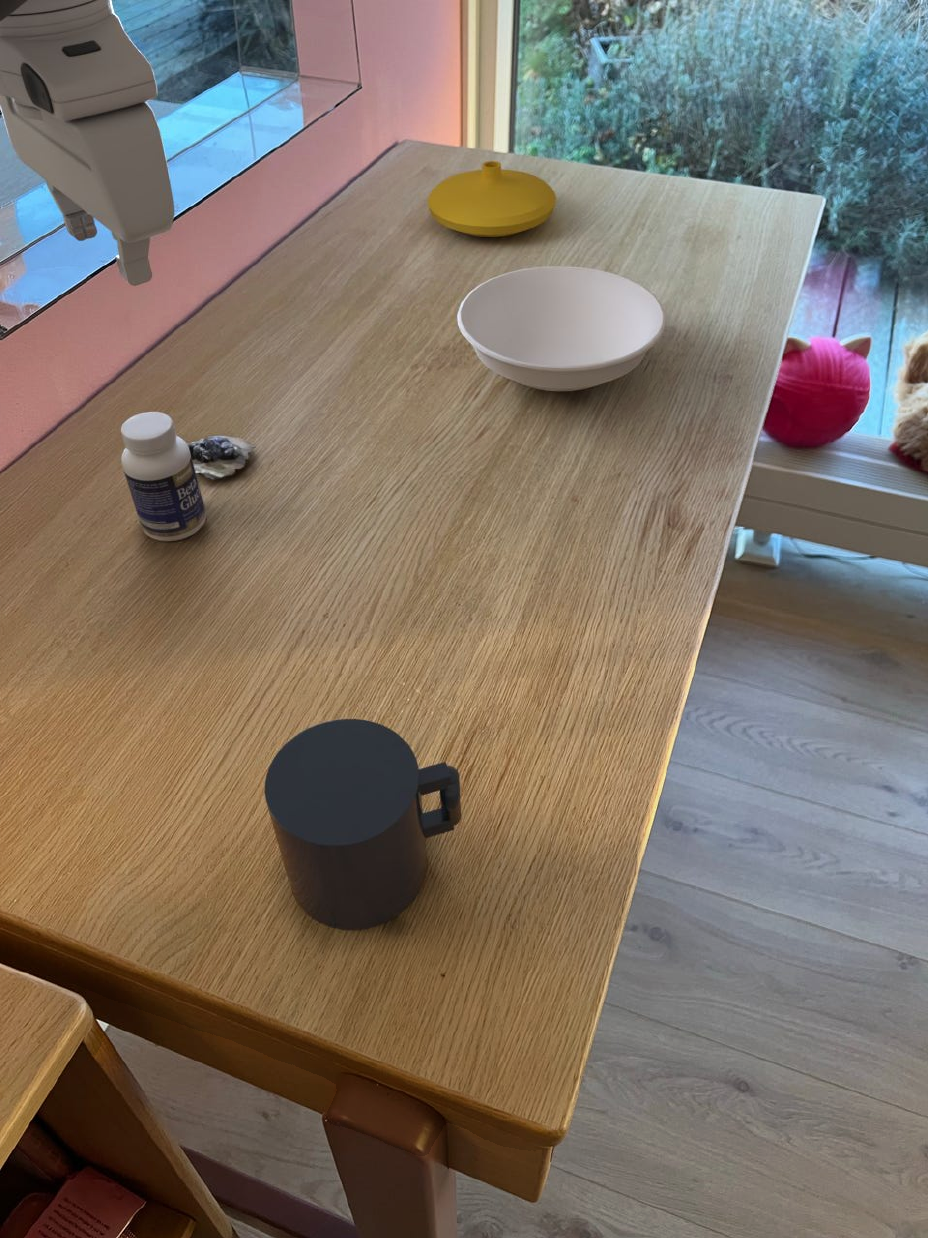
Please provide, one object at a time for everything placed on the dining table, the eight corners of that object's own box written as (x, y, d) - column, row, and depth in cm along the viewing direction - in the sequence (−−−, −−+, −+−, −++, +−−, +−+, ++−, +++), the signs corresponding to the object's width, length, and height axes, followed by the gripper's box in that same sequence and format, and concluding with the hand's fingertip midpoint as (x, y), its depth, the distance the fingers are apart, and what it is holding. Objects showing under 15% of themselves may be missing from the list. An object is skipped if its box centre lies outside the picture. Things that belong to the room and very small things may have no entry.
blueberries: (238, 487, 88) (234, 469, 86) (153, 477, 89) (148, 460, 88) (264, 442, 92) (261, 425, 91) (183, 434, 94) (178, 417, 92)
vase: (571, 242, 120) (574, 182, 115) (442, 258, 118) (439, 198, 113) (536, 190, 131) (538, 134, 126) (418, 204, 129) (414, 147, 124)
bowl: (558, 455, 90) (561, 393, 85) (418, 369, 101) (414, 311, 96) (701, 373, 99) (710, 314, 94) (558, 303, 109) (560, 246, 105)
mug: (304, 948, 57) (279, 865, 51) (277, 829, 63) (252, 740, 56) (483, 894, 59) (481, 807, 53) (442, 783, 65) (435, 692, 59)
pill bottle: (200, 543, 82) (173, 445, 76) (135, 544, 83) (102, 446, 76) (213, 502, 86) (187, 405, 79) (151, 503, 86) (120, 406, 80)
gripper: (-53, 23, 68) (16, 223, 78) (64, 99, 57) (128, 323, 66) (36, 6, 71) (92, 201, 81) (166, 74, 59) (213, 293, 69)
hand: (109, 257), depth 73 cm, fingers open, 8 cm apart
